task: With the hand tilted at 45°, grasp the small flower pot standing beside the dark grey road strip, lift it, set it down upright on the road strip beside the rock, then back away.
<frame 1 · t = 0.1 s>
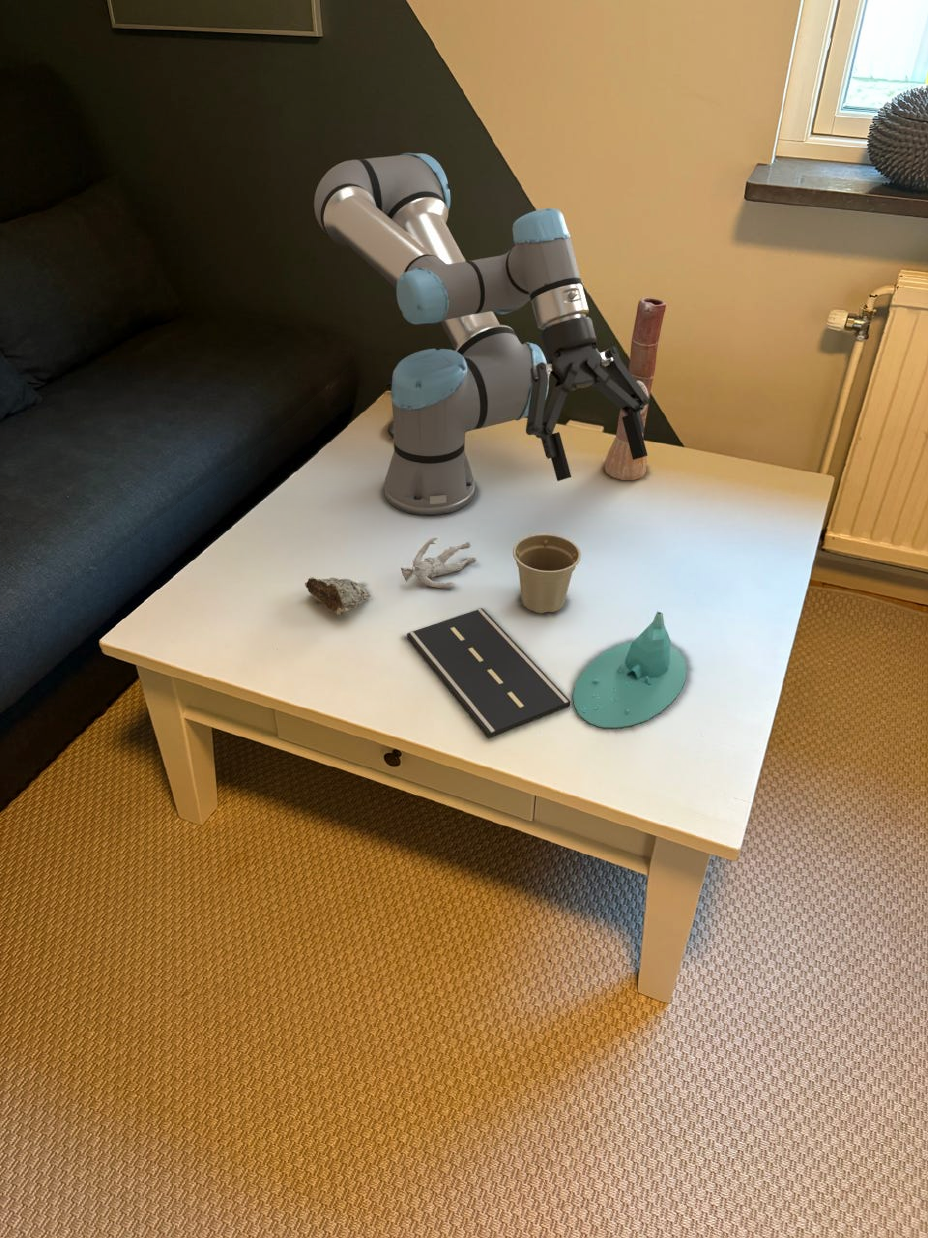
hand: (603, 468, 137), 15 cm above the table, tool tilted 35°, fingers open, 13 cm apart
rock sample: (338, 602, 137), on the table
road: (485, 670, 125), on the table
soldier figure: (439, 575, 142), on the table
flower pot: (542, 602, 137), on the table
vase: (627, 468, 169), on the table
diorama: (630, 683, 124), on the table
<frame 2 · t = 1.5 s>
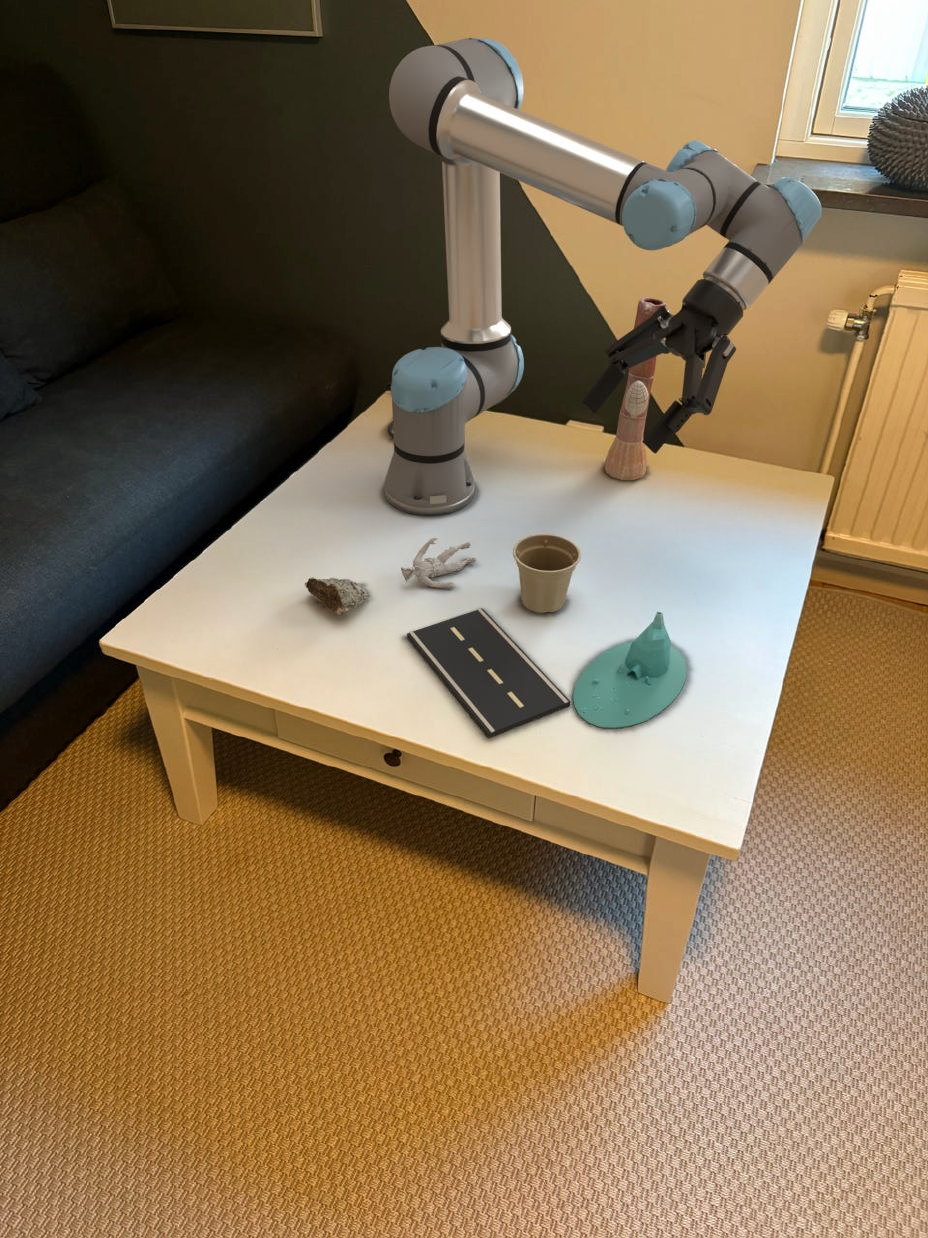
hand: (617, 427, 126), 25 cm above the table, tool tilted 45°, fingers open, 13 cm apart
nothing on the table moved.
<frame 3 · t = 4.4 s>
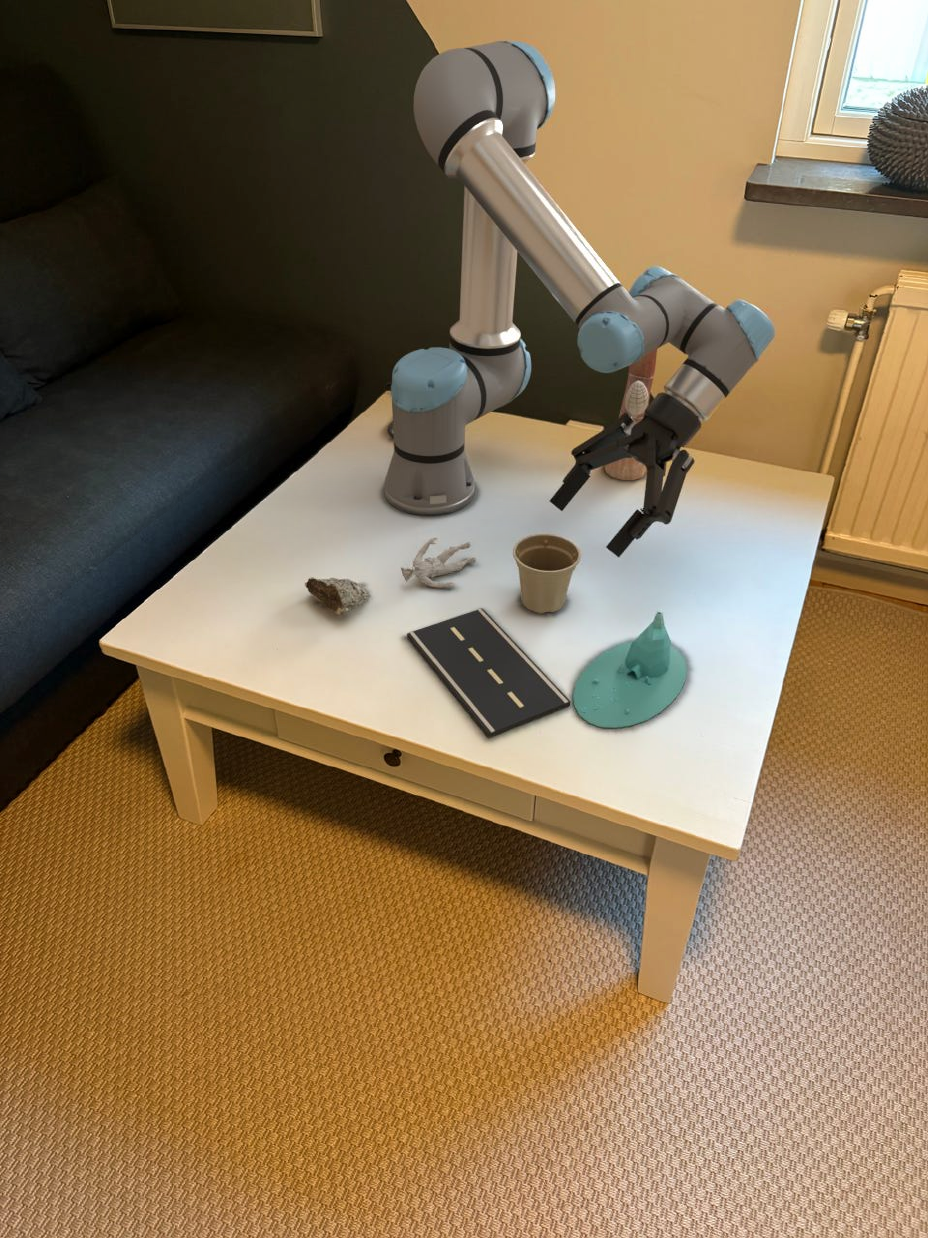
hand: (582, 528, 133), 11 cm above the table, tool tilted 45°, fingers open, 13 cm apart
nothing on the table moved.
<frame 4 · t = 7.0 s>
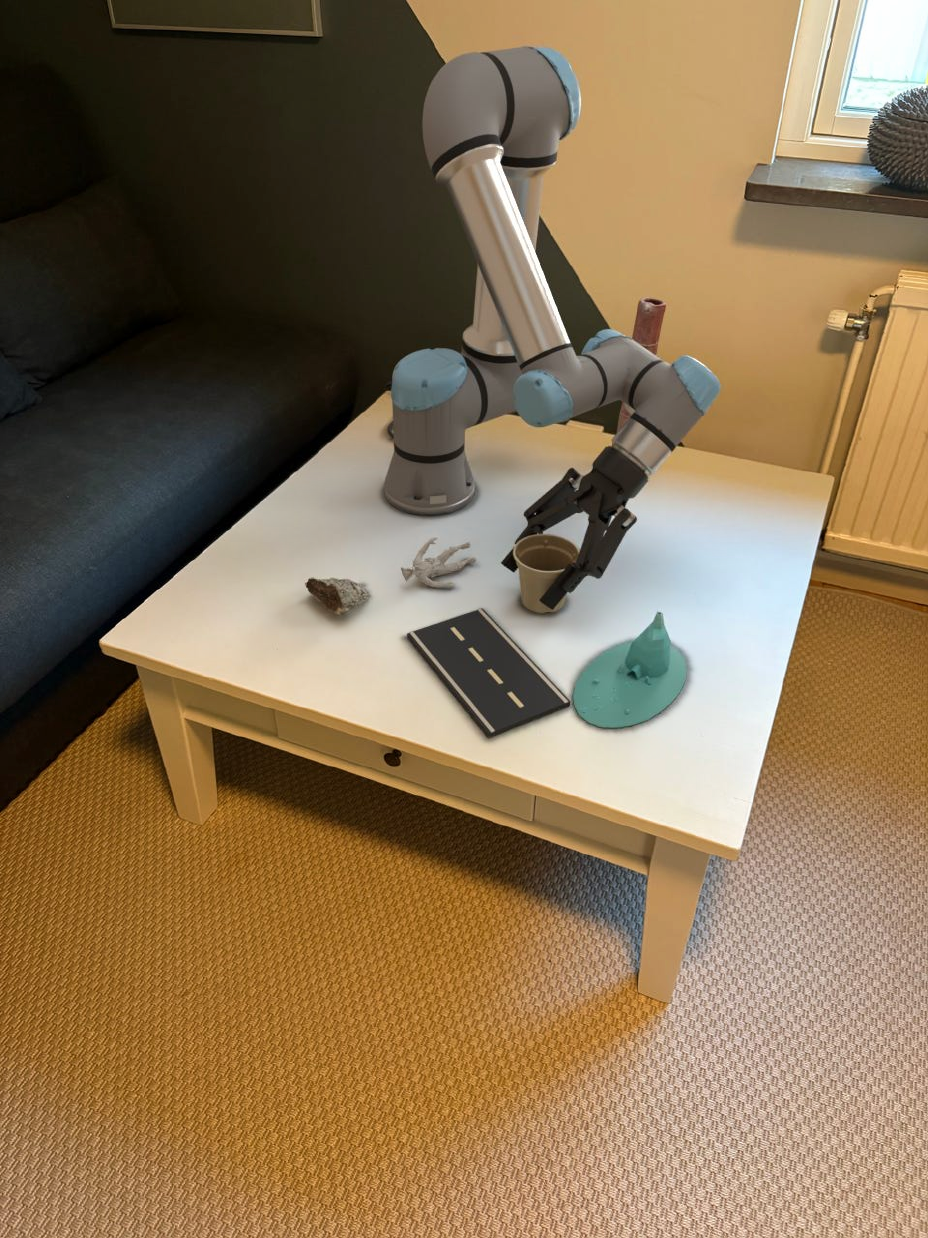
hand: (526, 586, 134), 4 cm above the table, tool tilted 45°, fingers closed on flower pot, 9 cm apart
flower pot: (542, 602, 137), on the table, touching gripper
everything else where it was.
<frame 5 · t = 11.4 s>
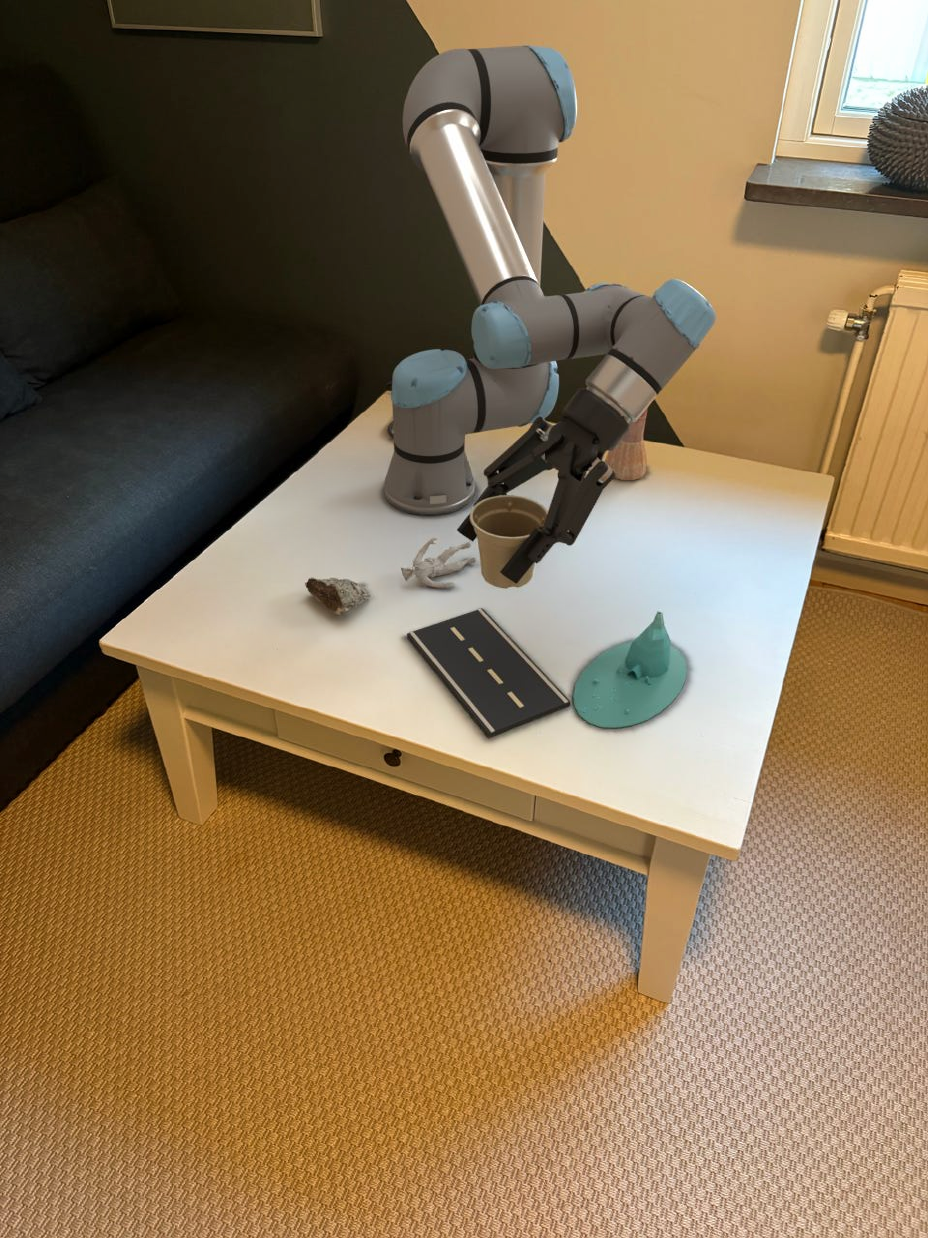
hand: (485, 556, 113), 19 cm above the table, tool tilted 45°, fingers closed on flower pot, 9 cm apart
flower pot: (506, 576, 117), point 15 cm above the table, touching gripper
everything else where it was.
when the fingers open (5 cm above the table, at t = 15.9 s): flower pot stays where it is, resting on road.
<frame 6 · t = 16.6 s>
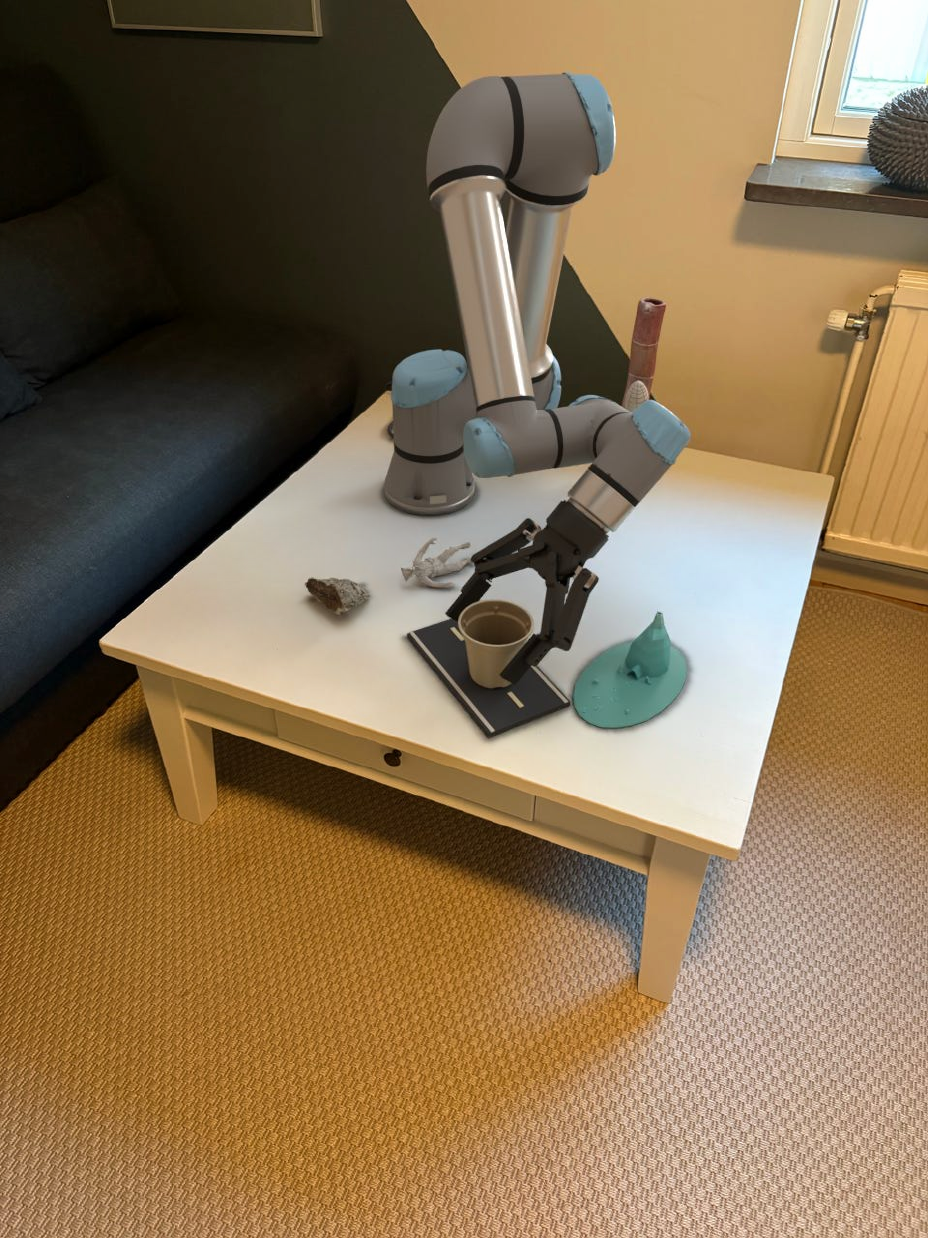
hand: (478, 648, 119), 6 cm above the table, tool tilted 45°, fingers open, 13 cm apart
flower pot: (493, 675, 123), point 1 cm above the table, touching road
everything else where it was.
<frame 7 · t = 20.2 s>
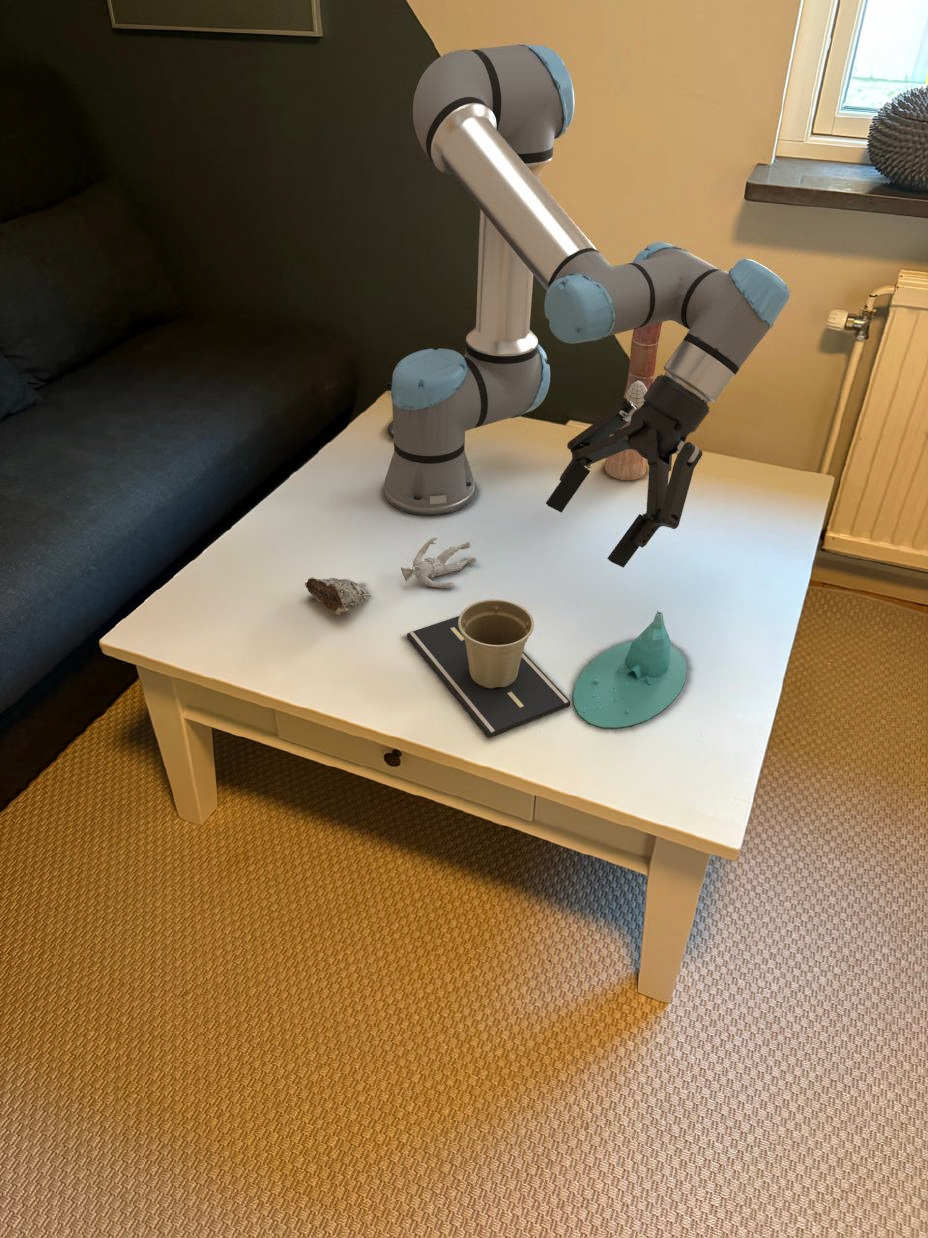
hand: (583, 534, 119), 18 cm above the table, tool tilted 35°, fingers open, 13 cm apart
nothing on the table moved.
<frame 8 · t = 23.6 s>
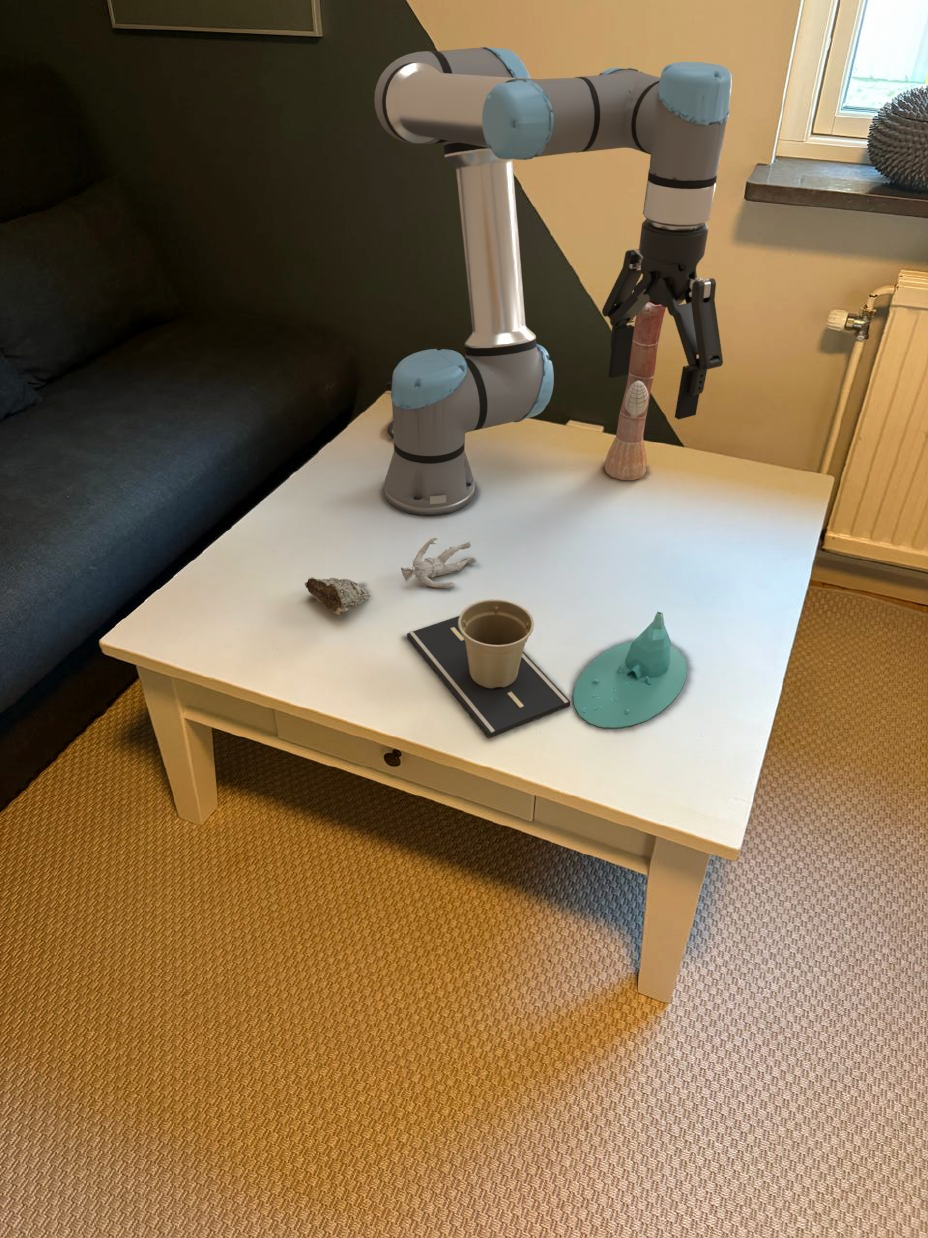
hand: (650, 395, 121), 31 cm above the table, tool pointing down, fingers open, 13 cm apart
nothing on the table moved.
at the end: flower pot inside the target area on the road (2.0 cm from its centre), point 0.7 cm above the road's base; flower pot tilted 0°; the gripper is holding nothing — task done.
